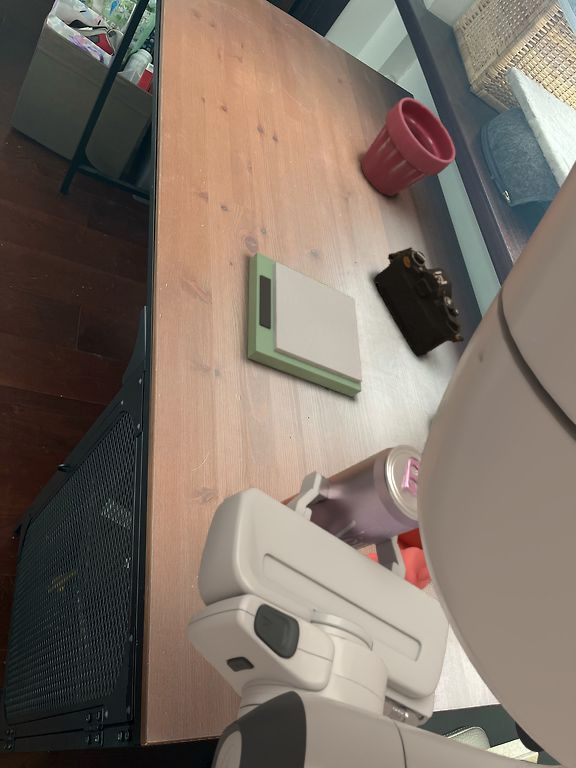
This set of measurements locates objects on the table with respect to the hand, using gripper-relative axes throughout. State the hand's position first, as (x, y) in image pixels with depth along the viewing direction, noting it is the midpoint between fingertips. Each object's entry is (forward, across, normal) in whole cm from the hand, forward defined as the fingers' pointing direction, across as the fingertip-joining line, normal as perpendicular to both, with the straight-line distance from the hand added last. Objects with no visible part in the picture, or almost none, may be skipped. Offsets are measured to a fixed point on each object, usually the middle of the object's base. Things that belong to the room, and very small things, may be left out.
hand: (351, 500), depth 49 cm
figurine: (+5, -17, +19) cm, 26 cm away
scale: (+34, 0, +19) cm, 39 cm away
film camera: (+53, -17, +19) cm, 59 cm away
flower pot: (+82, -6, +19) cm, 85 cm away
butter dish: (+17, -24, +19) cm, 35 cm away
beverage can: (-1, 0, +8) cm, 8 cm away
